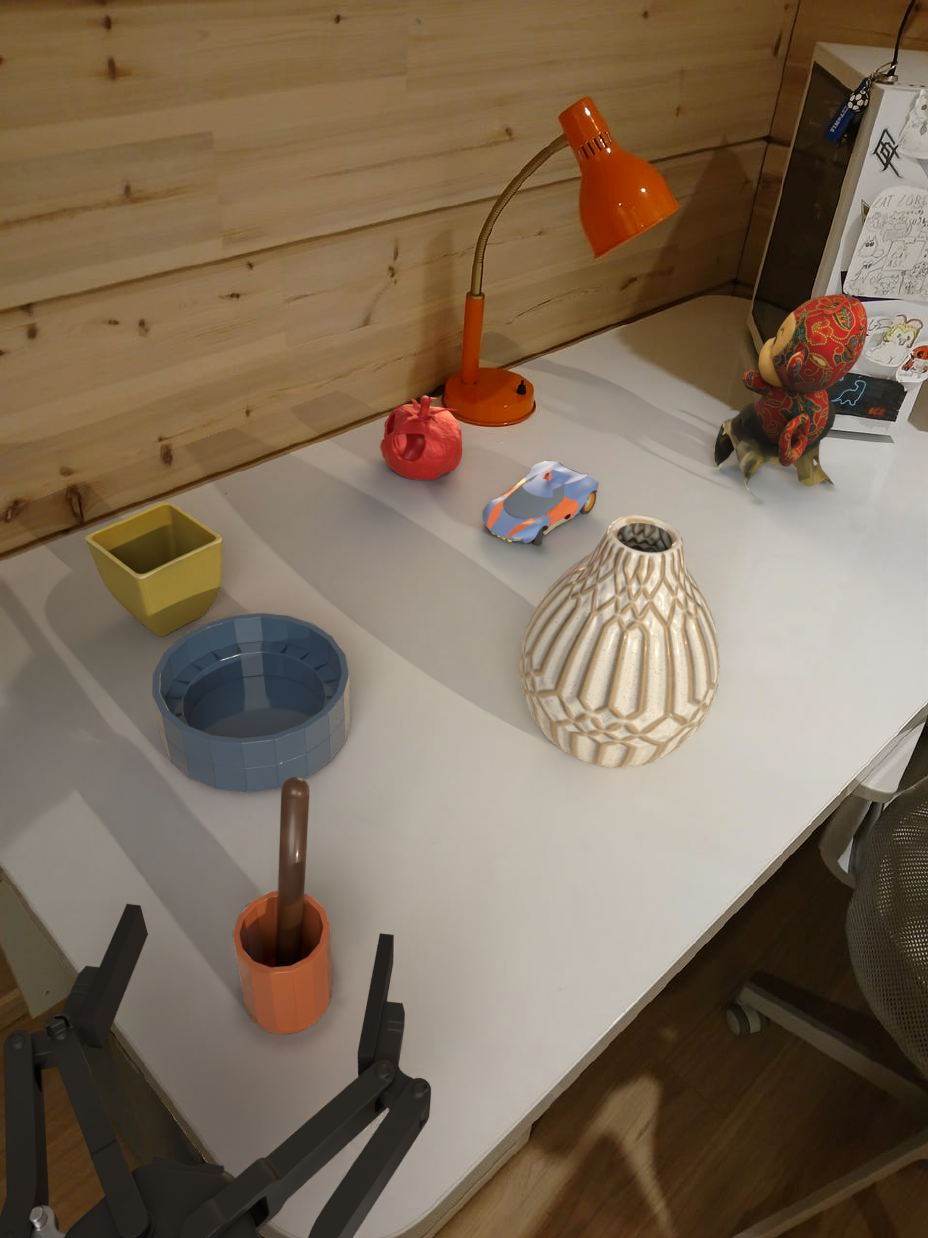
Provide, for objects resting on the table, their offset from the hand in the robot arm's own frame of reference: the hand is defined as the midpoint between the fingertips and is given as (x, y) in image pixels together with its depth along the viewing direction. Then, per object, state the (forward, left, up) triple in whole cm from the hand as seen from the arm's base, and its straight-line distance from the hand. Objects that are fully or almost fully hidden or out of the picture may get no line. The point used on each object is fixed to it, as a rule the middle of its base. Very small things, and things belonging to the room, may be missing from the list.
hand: (261, 933), depth 52 cm
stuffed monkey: (+42, +75, -12) cm, 87 cm away
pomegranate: (0, +71, -12) cm, 72 cm away
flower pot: (-20, +39, -12) cm, 46 cm away
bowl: (-8, +26, -12) cm, 30 cm away
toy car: (+14, +62, -12) cm, 65 cm away
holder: (0, +3, -12) cm, 12 cm away
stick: (0, +3, -11) cm, 12 cm away
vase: (+21, +30, -12) cm, 39 cm away
